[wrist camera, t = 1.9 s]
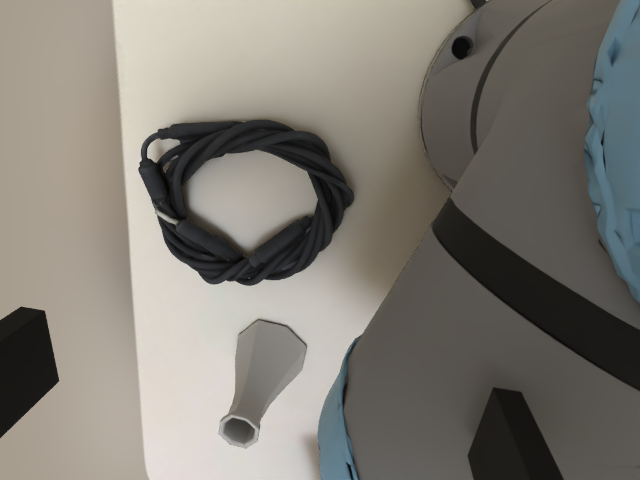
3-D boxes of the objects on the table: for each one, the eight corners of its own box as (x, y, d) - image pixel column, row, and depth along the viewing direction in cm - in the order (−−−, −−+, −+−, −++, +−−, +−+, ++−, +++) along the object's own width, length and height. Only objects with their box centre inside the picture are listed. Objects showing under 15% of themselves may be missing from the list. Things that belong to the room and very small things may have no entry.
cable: (355, 115, 30) (353, 118, 26) (354, 279, 34) (352, 303, 30) (147, 120, 32) (115, 123, 28) (174, 273, 37) (149, 295, 33)
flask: (319, 343, 37) (302, 425, 28) (286, 391, 40) (259, 480, 31) (254, 307, 37) (214, 378, 28) (224, 358, 39) (179, 438, 30)
